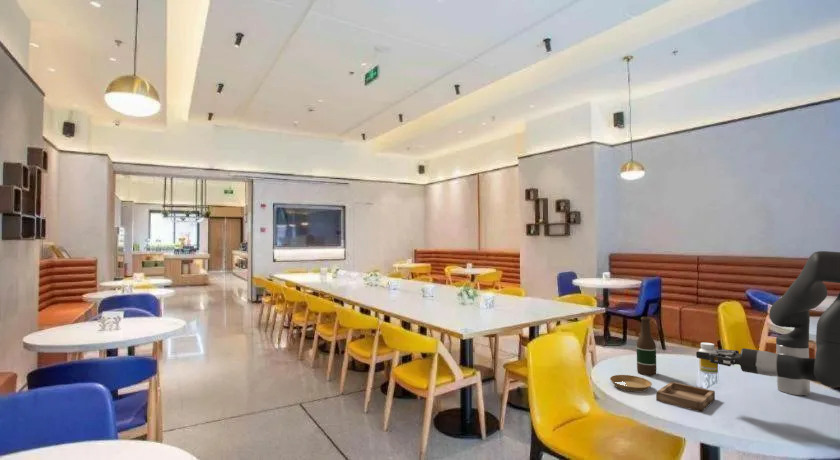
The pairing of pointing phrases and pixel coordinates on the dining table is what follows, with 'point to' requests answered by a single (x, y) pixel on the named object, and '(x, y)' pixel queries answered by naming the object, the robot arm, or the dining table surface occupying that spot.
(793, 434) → the dining table surface
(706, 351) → the supplement bottle
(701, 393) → the serving tray
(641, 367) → the beer bottle
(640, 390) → the plant saucer
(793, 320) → the robot arm
